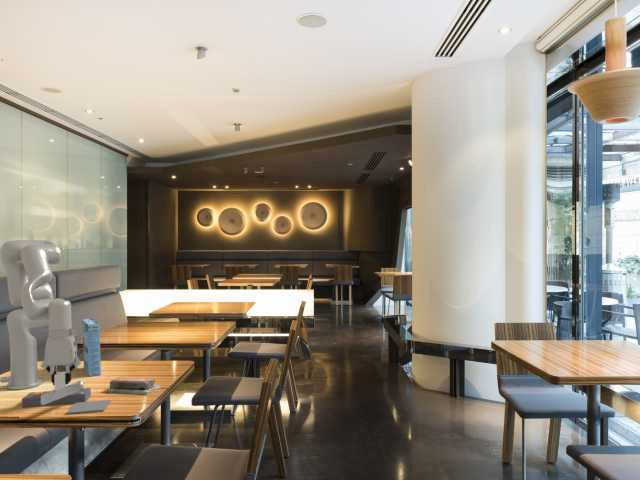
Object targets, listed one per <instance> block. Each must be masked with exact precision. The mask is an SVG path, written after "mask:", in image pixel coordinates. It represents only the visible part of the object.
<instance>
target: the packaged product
mask: <svg viewBox="0 0 640 480" xmlns="http://www.w3.org/2000/svg"><path fill="white" fill-rule="evenodd" d="M154 383H156V380H155V379H153V378H141V377H124V376H120V377H117V378H114V379H112V380H110V381H109V388H107V389H106V393H107V394H110V393H111V394H124V395H125V394H126V395H127V394H129V395H143V396H144V395H149V394H150V393H153V392H154V391H157V390H160V389H161V388H162V385H160V384H159V385H157V384H154Z"/></svg>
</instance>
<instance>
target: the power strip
mask: <svg viewBox="0 0 640 480" xmlns="http://www.w3.org/2000/svg"><path fill="white" fill-rule="evenodd" d="M51 391H52V390H47V391H34V392H28V393H27V394H26V395H25V396H24V397H22V398H21V408H31V407H42V406H45V405H46V406H55V405H57V406H58V405H68V404H74V403H78V402H88V401H89V398H91V395H92V394H91V387H86V388H84V387H83V390H81V391H78V392H75V393H73V394H70V395H68V396H65V397H63V398H60V399H58V400H55V401H53V402H50V403H47V404H45V405H41V395H44V394H47V393H49V392H51ZM46 406H45V407H46Z"/></svg>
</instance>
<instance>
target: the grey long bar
mask: <svg viewBox="0 0 640 480" xmlns="http://www.w3.org/2000/svg"><path fill="white" fill-rule="evenodd" d="M83 383H84V381H83V380H80V381H79V380H78V381H76V382H74V383H72V384H71V383H70V384H68V386H66V387H63V388H60V389H57V390H55V391H52V390H51V391H52V392H49V393H47V394H44V395H41V405H45V404H47V403H50V402H53V401H55V400H58V399H60V398H63V397H65V396H68V395H70V394H73V393H75V392H78V391H81V390H83V388H84V384H83Z"/></svg>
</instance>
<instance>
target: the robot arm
mask: <svg viewBox="0 0 640 480" xmlns="http://www.w3.org/2000/svg"><path fill="white" fill-rule="evenodd" d="M0 260H1V263H2V265H3V267H4V269H5V273H6V278H7V290H8V292H7V293H8V298H9V303H10V304H11V305H12V306H18V307H19V306H22V308H19V309H15V310H11V311H10V312H9V313H8V315H7V317H6V324H7V325H6V326H7V330H8V335H9V349H10V353H9V358H10V375H9V376H1V377H0V383H3V384H4V383H7V384H6V389H7V390H13V391H14V390H25V389H30V388H34V387H35V388H36V387H38V386H40V385H42V383H43V380H42V379H41V378H38V342H37V340H36V337H34V336H33V335H32V334H31V332H34V331H40V330H47V329H48V338H47V339H46V343H45V350H44V359H43V361H42V363H41V365H40V368H42V369H43V370H46V371H47V372H48V374H50V377H51V383H52V386H54V375H55V374H56V373H58V372H57V366H61V365H65V366H66V370H65V372H66V374H65V384H68V385H69V384H70V383H71V381H72V372H73V370H75V369H76V368H75V367H77V366H78V367H79V366H80V365H81V364H82V361H81V360H80V358H79V357H78V351H77V350H78V349H77V341H76V342H75V337H74V336H72V335H73V334H75V335H77V330H76V329H73V328H72V327H73V326H72V323H73V322H72V303H71V301H70V300H66V299H64V298H61V297H60V298H57V297H56V298H54V294H53V289H52V286H51V285H50V283H49V282H51V281H52V279H53V272H52V270H51V266H50V265H58V264H59V263H60V262H61V261H62V250H61V249H60V247H59V245H57V244H56V243H54V242H52V241H49V240H45V239H18V240H17V239H14V240H7V241H5V242H4V243H2V245H0ZM74 362H75V364H74V365H72V366H71V364H73V363H74ZM78 367H77V368H78ZM74 368H75V369H74Z"/></svg>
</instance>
